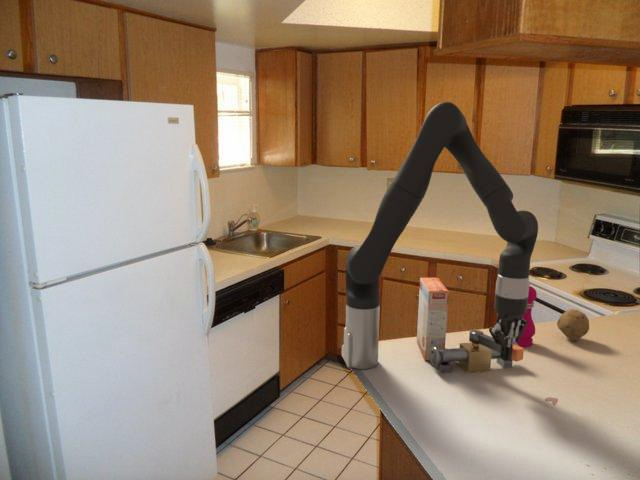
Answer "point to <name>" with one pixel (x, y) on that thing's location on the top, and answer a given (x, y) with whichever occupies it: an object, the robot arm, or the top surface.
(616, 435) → the top surface
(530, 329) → the pepper mill
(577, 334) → the brown rounded lump
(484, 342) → the lever
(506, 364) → the valve pipe
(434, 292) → the cracker box
